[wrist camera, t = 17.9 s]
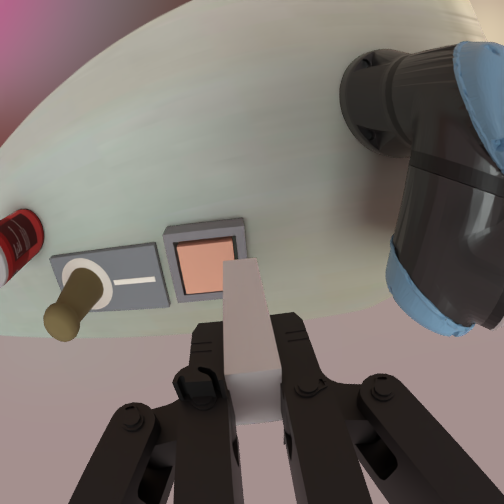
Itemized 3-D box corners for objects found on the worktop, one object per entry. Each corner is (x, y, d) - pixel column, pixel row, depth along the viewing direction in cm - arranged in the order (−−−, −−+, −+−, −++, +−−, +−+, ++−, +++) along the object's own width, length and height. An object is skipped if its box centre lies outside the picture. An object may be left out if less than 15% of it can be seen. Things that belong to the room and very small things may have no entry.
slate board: (155, 242, 38) (153, 245, 37) (170, 303, 42) (169, 307, 41) (52, 255, 37) (48, 259, 36) (72, 309, 41) (70, 313, 40)
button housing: (242, 217, 38) (244, 225, 35) (248, 284, 42) (250, 295, 39) (166, 226, 37) (162, 235, 34) (180, 291, 42) (177, 302, 39)
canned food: (9, 243, 35) (-29, 275, 25) (14, 200, 33) (-30, 226, 23) (42, 261, 37) (6, 299, 27) (48, 217, 35) (6, 249, 25)
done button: (231, 232, 38) (232, 241, 35) (236, 277, 41) (237, 289, 38) (180, 237, 38) (176, 247, 35) (188, 282, 40) (186, 294, 38)
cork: (84, 306, 40) (58, 353, 30) (63, 276, 38) (29, 318, 28) (111, 294, 40) (85, 342, 30) (88, 261, 37) (54, 304, 27)
